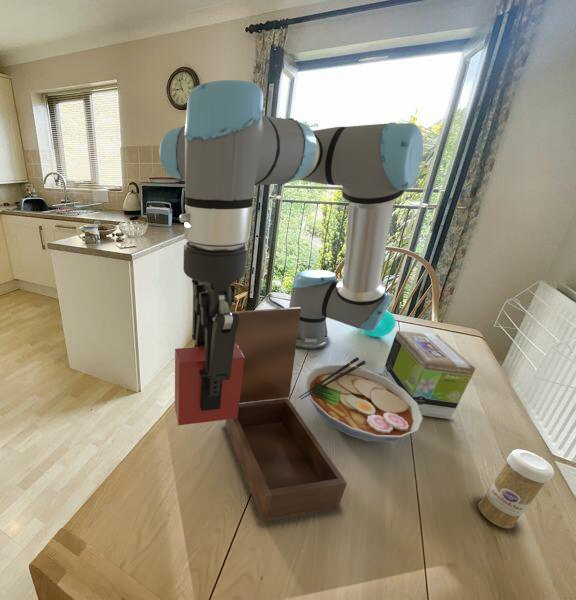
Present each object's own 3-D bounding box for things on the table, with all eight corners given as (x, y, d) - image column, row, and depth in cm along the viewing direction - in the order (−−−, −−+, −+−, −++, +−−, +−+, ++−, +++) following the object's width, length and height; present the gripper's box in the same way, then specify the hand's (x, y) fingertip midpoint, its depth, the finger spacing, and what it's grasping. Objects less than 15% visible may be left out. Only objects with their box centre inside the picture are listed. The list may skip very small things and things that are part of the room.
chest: (337, 510, 53) (347, 483, 50) (260, 523, 51) (266, 496, 48) (283, 421, 71) (287, 398, 68) (224, 429, 69) (227, 405, 66)
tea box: (452, 420, 72) (478, 368, 66) (404, 414, 74) (425, 362, 67) (419, 379, 85) (439, 333, 79) (379, 374, 87) (395, 328, 81)
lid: (301, 308, 61) (299, 306, 62) (232, 313, 59) (231, 311, 60) (289, 397, 68) (287, 395, 69) (227, 404, 66) (226, 402, 67)
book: (174, 408, 48) (175, 348, 44) (230, 401, 49) (236, 343, 45) (178, 425, 45) (179, 363, 40) (237, 418, 46) (245, 357, 42)
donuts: (381, 326, 112) (389, 301, 108) (392, 340, 104) (401, 313, 99) (351, 322, 115) (358, 298, 110) (359, 336, 106) (367, 310, 102)
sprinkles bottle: (477, 517, 52) (513, 462, 47) (476, 496, 56) (510, 443, 50) (515, 536, 50) (558, 480, 44) (512, 513, 53) (552, 459, 47)
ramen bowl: (373, 487, 57) (385, 456, 54) (276, 410, 75) (281, 382, 71) (433, 430, 69) (446, 402, 66) (337, 375, 87) (344, 350, 83)
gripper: (173, 228, 43) (173, 366, 53) (200, 265, 28) (193, 447, 38) (225, 227, 44) (215, 362, 54) (277, 262, 29) (251, 440, 39)
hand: (206, 397), depth 46 cm, fingers closed on book, 3 cm apart
